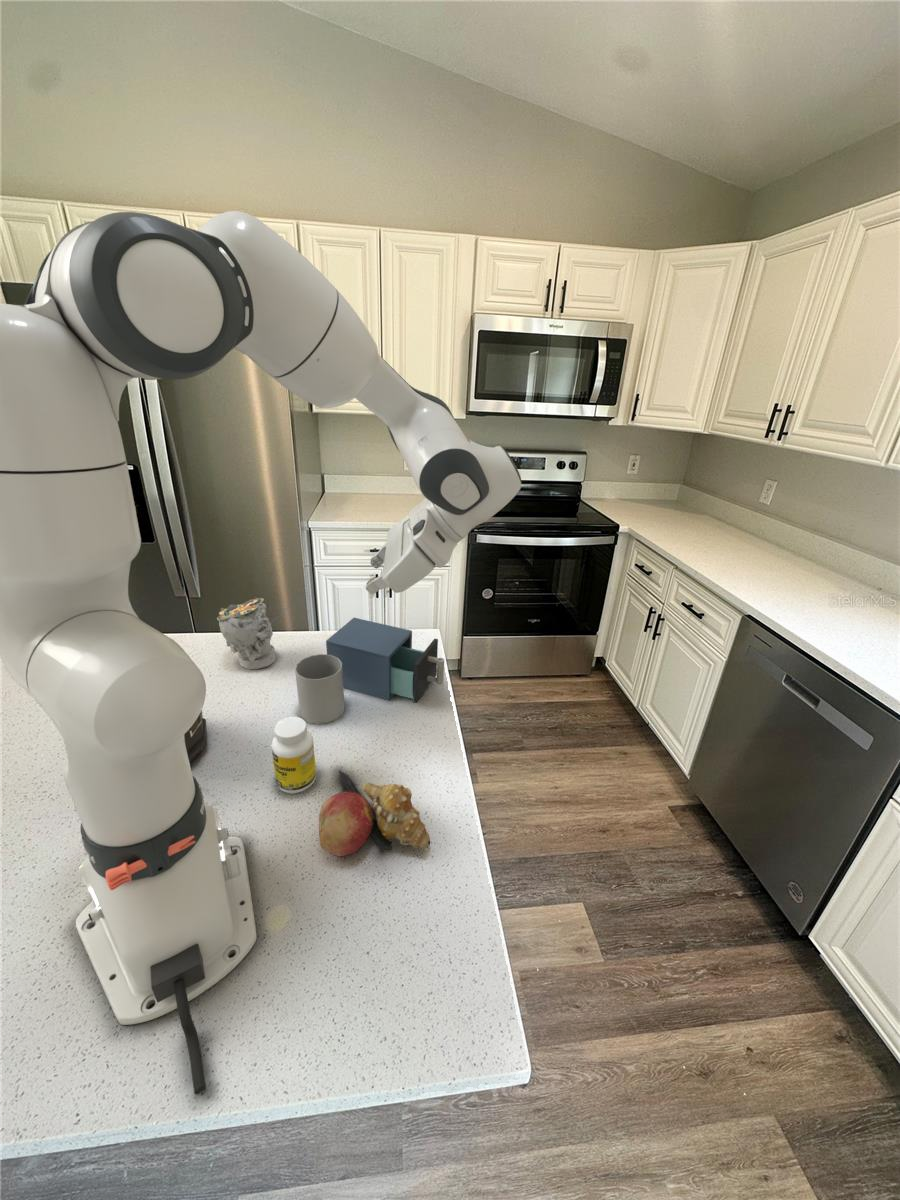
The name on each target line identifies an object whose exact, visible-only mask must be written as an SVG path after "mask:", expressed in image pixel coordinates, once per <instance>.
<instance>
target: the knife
mask: <svg viewBox="0 0 900 1200" xmlns="http://www.w3.org/2000/svg"><path fill="white" fill-rule="evenodd" d="M349 775H350V774H347V773H346V772H343V771H342V770H340V769H338V776H339V781H340V785H341V787H342V788H343V791H344V790H345V791H344V792H356V793H359V794H360V795H362V793H361V792H360V790H359V789H358V787H357V786H356V784H355V783H354V781H353V779H352V778H351V776H349ZM371 808H372V811H373V812H375V810H374V809H373V806H372V807H371ZM373 816H374V814H373ZM370 835H371V837H372V838H373V840H374V841H375V843H376V845H377V846H378V848H379V850H380V851H382V852H386V851H391V850H392V849H393V846H392V845H393V841H392V840H390V839H386V838H385V836H384V835H383V834H382V832H381V830H380V829H379V828H378V824H377V820H376V816H374V824H373V827H372V829H371V832H370Z"/></svg>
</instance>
